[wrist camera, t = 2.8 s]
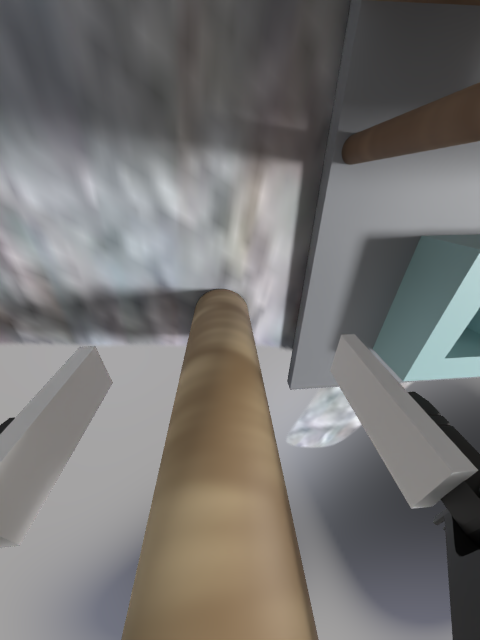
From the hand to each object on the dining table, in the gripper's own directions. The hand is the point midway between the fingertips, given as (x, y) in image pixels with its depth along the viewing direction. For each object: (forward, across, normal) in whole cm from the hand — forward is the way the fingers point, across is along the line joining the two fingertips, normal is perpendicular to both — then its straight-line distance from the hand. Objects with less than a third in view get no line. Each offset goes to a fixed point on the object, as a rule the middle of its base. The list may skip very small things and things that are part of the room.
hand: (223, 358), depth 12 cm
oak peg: (+5, 0, 0) cm, 5 cm away
